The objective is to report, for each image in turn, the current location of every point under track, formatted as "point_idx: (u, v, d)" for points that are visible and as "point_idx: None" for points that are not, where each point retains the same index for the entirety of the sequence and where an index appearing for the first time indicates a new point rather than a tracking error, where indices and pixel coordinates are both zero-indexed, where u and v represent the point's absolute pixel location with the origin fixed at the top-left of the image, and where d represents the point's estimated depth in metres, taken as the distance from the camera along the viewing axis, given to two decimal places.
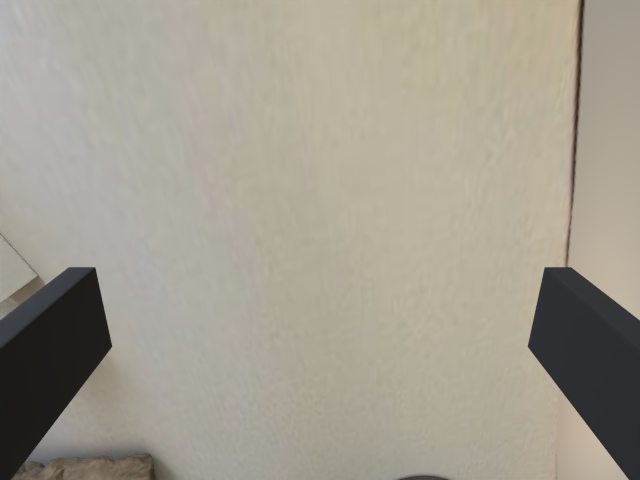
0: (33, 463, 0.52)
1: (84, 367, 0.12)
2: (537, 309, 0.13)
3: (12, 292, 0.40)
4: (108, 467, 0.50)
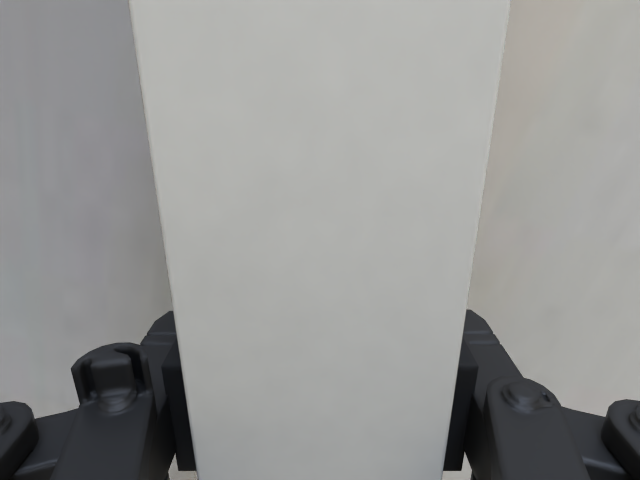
0: None
1: None
2: None
3: None
4: None
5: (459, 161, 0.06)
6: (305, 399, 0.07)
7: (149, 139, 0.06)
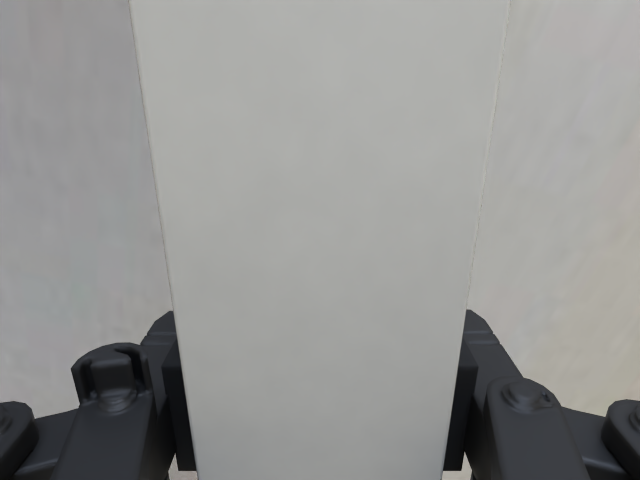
0: None
1: None
2: None
3: None
4: None
5: (459, 160, 0.06)
6: (305, 397, 0.07)
7: (149, 138, 0.06)
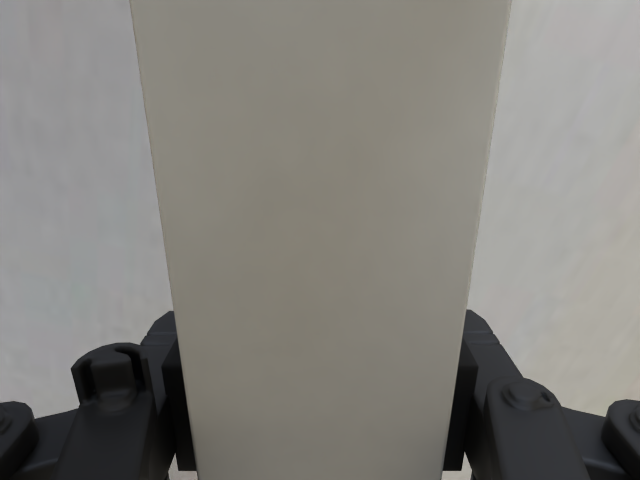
0: None
1: None
2: None
3: None
4: None
5: (459, 160, 0.06)
6: (304, 397, 0.07)
7: (150, 137, 0.06)
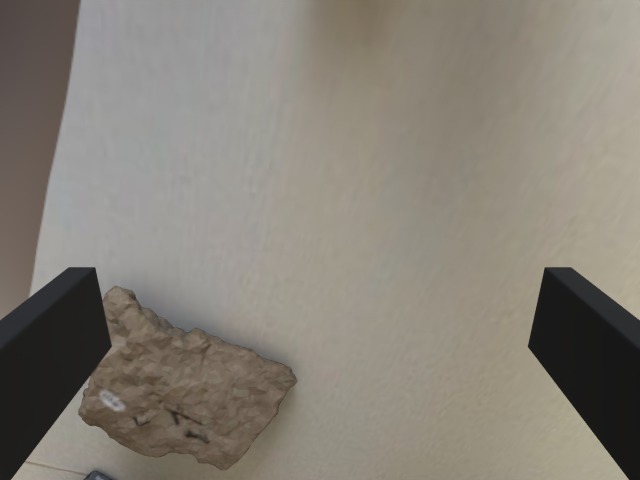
0: (167, 322, 0.43)
1: (84, 368, 0.12)
2: (537, 309, 0.13)
3: None
4: (257, 364, 0.43)
5: None
6: None
7: None
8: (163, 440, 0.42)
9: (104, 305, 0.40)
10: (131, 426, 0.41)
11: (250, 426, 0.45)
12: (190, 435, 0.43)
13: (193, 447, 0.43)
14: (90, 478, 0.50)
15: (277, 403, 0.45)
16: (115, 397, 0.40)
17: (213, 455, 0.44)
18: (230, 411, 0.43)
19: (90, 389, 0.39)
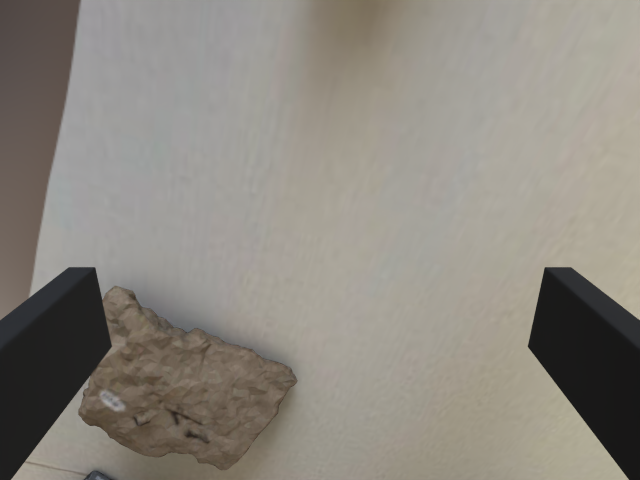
0: (167, 322, 0.43)
1: (84, 368, 0.12)
2: (537, 309, 0.13)
3: None
4: (257, 364, 0.43)
5: None
6: None
7: None
8: (163, 440, 0.42)
9: (104, 305, 0.40)
10: (131, 426, 0.41)
11: (250, 426, 0.45)
12: (190, 435, 0.43)
13: (193, 447, 0.43)
14: (90, 478, 0.50)
15: (277, 403, 0.45)
16: (115, 397, 0.40)
17: (213, 455, 0.44)
18: (230, 411, 0.43)
19: (90, 389, 0.39)
